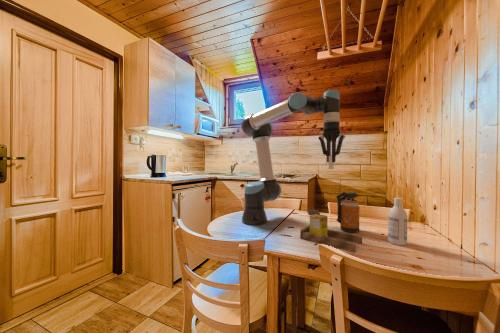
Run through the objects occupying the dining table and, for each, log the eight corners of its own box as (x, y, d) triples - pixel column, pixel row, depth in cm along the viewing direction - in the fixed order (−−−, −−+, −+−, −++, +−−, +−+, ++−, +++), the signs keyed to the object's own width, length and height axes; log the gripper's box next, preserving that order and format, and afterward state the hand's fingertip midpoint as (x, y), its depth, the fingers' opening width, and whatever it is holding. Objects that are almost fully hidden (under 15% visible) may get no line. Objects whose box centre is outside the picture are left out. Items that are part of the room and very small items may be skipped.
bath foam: (402, 240, 98) (403, 197, 97) (410, 246, 91) (411, 199, 91) (385, 239, 100) (386, 196, 99) (391, 245, 93) (392, 199, 92)
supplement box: (327, 238, 101) (327, 215, 100) (320, 242, 97) (320, 218, 96) (316, 235, 105) (316, 213, 105) (309, 238, 101) (309, 215, 101)
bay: (295, 237, 103) (295, 213, 103) (308, 229, 115) (309, 208, 114) (355, 252, 86) (355, 224, 86) (363, 240, 98) (364, 216, 97)
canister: (361, 233, 107) (362, 193, 106) (338, 232, 109) (338, 193, 109) (356, 228, 116) (356, 191, 115) (334, 227, 118) (335, 190, 117)
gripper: (316, 122, 110) (315, 168, 110) (342, 119, 101) (342, 169, 102) (321, 124, 115) (321, 168, 116) (347, 121, 107) (346, 168, 108)
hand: (331, 168), depth 109 cm, fingers closed
